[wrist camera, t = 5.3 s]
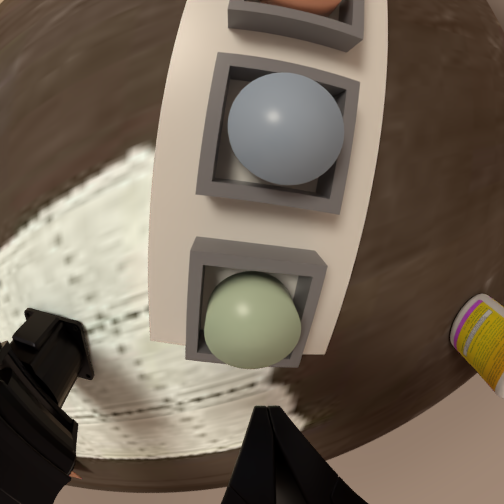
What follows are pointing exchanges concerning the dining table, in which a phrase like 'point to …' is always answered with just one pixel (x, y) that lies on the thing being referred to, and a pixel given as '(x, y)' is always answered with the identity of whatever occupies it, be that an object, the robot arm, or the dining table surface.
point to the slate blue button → (285, 128)
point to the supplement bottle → (482, 339)
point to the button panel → (249, 185)
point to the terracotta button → (307, 5)
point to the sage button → (251, 321)
